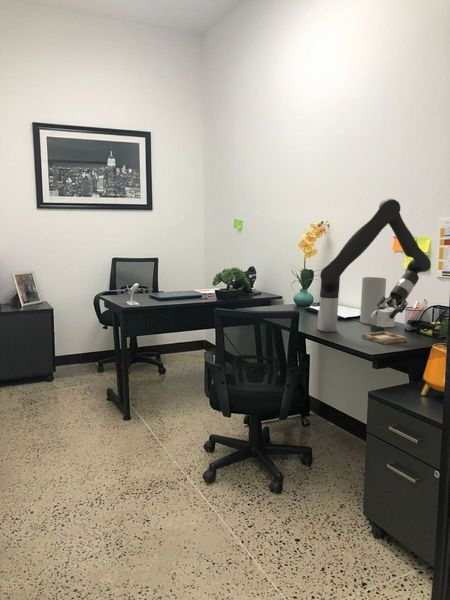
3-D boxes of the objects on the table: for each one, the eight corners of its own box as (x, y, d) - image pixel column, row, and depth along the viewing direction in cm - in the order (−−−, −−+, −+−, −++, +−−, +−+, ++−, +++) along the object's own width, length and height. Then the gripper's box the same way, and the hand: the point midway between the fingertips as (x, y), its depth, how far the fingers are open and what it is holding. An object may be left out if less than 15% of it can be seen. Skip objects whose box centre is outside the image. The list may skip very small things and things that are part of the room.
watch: (387, 332, 244) (389, 311, 242) (373, 333, 242) (374, 311, 240) (381, 330, 249) (382, 309, 248) (367, 330, 247) (368, 309, 246)
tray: (362, 338, 231) (362, 334, 230) (382, 335, 238) (382, 331, 237) (385, 344, 219) (385, 340, 218) (405, 341, 226) (406, 337, 225)
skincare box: (388, 324, 231) (389, 309, 229) (394, 326, 225) (395, 311, 223) (376, 324, 230) (377, 309, 229) (382, 327, 224) (383, 311, 223)
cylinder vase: (358, 323, 265) (361, 278, 261) (361, 320, 276) (363, 276, 273) (382, 326, 260) (385, 280, 257) (384, 321, 272) (387, 277, 268)
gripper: (386, 283, 234) (368, 308, 230) (411, 286, 222) (392, 313, 218) (393, 293, 238) (375, 318, 234) (418, 297, 225) (399, 324, 221)
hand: (383, 316), depth 226 cm, fingers closed on skincare box, 7 cm apart
